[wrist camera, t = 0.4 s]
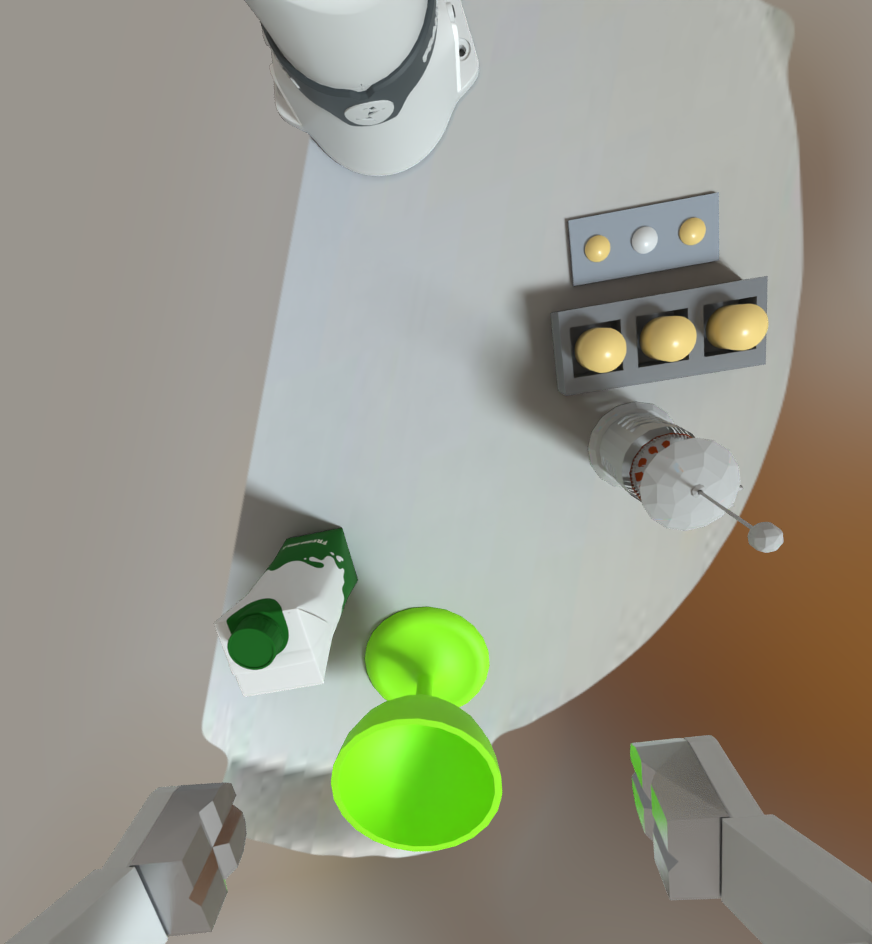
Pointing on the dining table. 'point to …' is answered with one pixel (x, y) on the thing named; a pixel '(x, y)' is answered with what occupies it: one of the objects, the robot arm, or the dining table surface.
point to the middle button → (668, 338)
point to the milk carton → (289, 615)
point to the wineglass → (420, 737)
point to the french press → (671, 471)
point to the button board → (643, 251)
